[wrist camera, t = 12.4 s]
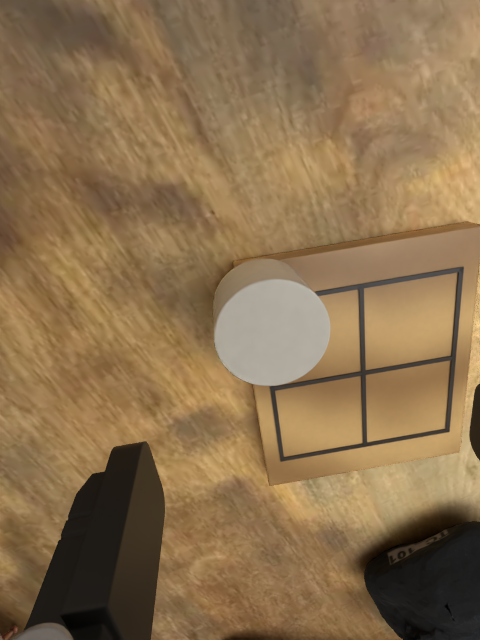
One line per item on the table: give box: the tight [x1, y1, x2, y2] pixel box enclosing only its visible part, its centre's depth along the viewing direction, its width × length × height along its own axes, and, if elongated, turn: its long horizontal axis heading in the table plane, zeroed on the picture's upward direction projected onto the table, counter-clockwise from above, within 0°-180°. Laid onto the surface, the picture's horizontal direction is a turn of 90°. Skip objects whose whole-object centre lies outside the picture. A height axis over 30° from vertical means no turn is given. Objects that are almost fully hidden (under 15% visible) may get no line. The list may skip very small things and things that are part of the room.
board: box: [233, 222, 480, 486], centre depth 21 cm, size 14×12×1 cm
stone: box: [213, 259, 331, 386], centre depth 17 cm, size 5×5×3 cm
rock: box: [364, 521, 480, 640], centre depth 27 cm, size 9×10×10 cm
